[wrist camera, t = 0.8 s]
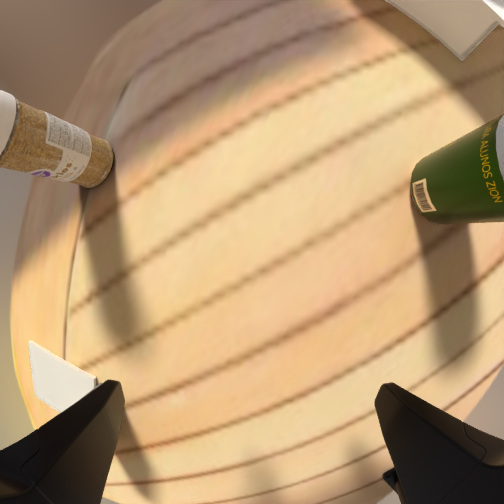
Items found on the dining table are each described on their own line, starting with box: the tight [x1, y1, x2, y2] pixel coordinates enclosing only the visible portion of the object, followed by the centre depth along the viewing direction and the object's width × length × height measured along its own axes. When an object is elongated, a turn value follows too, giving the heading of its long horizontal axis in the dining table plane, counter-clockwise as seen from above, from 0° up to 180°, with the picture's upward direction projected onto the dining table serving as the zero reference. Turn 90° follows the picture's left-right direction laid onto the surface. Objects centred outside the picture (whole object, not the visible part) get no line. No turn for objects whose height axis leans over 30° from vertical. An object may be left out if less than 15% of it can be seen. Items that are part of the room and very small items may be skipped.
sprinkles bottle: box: [0, 90, 113, 188], centre depth 15 cm, size 5×5×13 cm
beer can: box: [410, 114, 504, 224], centre depth 13 cm, size 5×5×12 cm
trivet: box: [28, 340, 97, 413], centre depth 24 cm, size 10×8×1 cm
